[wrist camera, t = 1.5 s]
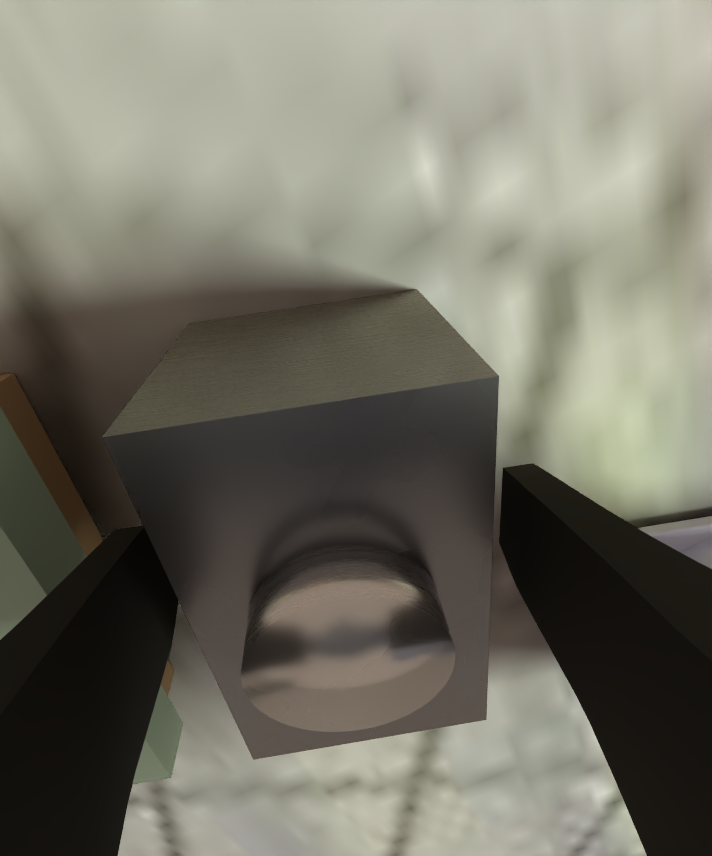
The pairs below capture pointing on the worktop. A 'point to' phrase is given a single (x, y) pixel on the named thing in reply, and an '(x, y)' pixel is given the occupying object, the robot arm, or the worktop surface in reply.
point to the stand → (55, 548)
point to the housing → (324, 514)
